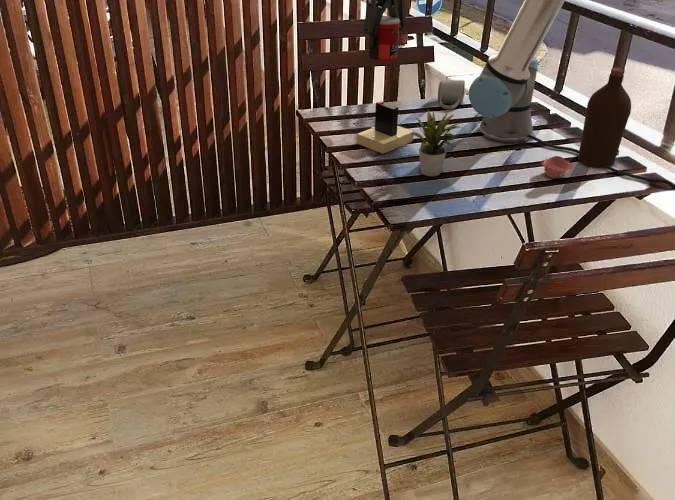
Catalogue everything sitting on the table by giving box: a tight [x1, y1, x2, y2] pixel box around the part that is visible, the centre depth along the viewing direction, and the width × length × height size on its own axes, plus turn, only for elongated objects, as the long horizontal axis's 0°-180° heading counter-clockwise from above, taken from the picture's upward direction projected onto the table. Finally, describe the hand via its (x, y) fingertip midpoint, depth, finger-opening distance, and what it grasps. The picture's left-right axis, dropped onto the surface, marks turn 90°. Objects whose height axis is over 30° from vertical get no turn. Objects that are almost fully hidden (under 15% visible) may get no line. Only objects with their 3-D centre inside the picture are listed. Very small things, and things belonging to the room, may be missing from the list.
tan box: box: [356, 125, 415, 155], centre depth 184 cm, size 13×11×3 cm
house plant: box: [410, 109, 464, 177], centre depth 163 cm, size 14×14×16 cm
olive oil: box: [577, 67, 632, 169], centre depth 169 cm, size 11×11×25 cm
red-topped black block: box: [374, 100, 399, 137], centre depth 181 cm, size 6×2×8 cm, turn 44°
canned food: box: [370, 15, 400, 63], centre depth 184 cm, size 8×8×11 cm
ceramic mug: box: [437, 79, 466, 110], centre depth 210 cm, size 11×8×8 cm
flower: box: [541, 155, 574, 179], centre depth 166 cm, size 8×8×6 cm
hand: (383, 55), depth 187 cm, fingers closed on canned food, 8 cm apart
